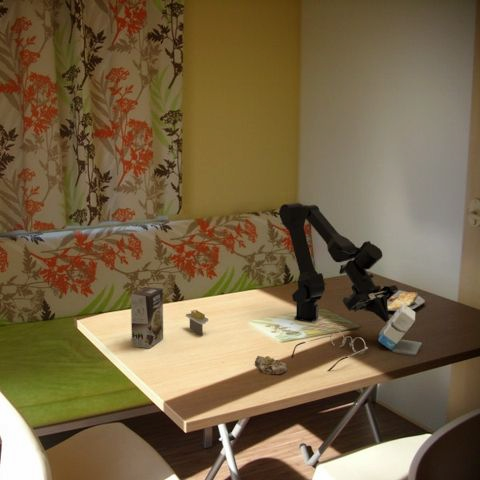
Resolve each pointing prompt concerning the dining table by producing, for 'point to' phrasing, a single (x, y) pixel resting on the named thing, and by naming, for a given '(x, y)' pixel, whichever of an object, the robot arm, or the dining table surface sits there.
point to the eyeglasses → (339, 346)
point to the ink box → (397, 326)
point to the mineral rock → (270, 365)
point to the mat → (407, 347)
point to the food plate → (404, 300)
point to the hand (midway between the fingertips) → (387, 321)
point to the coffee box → (147, 317)
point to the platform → (197, 321)
